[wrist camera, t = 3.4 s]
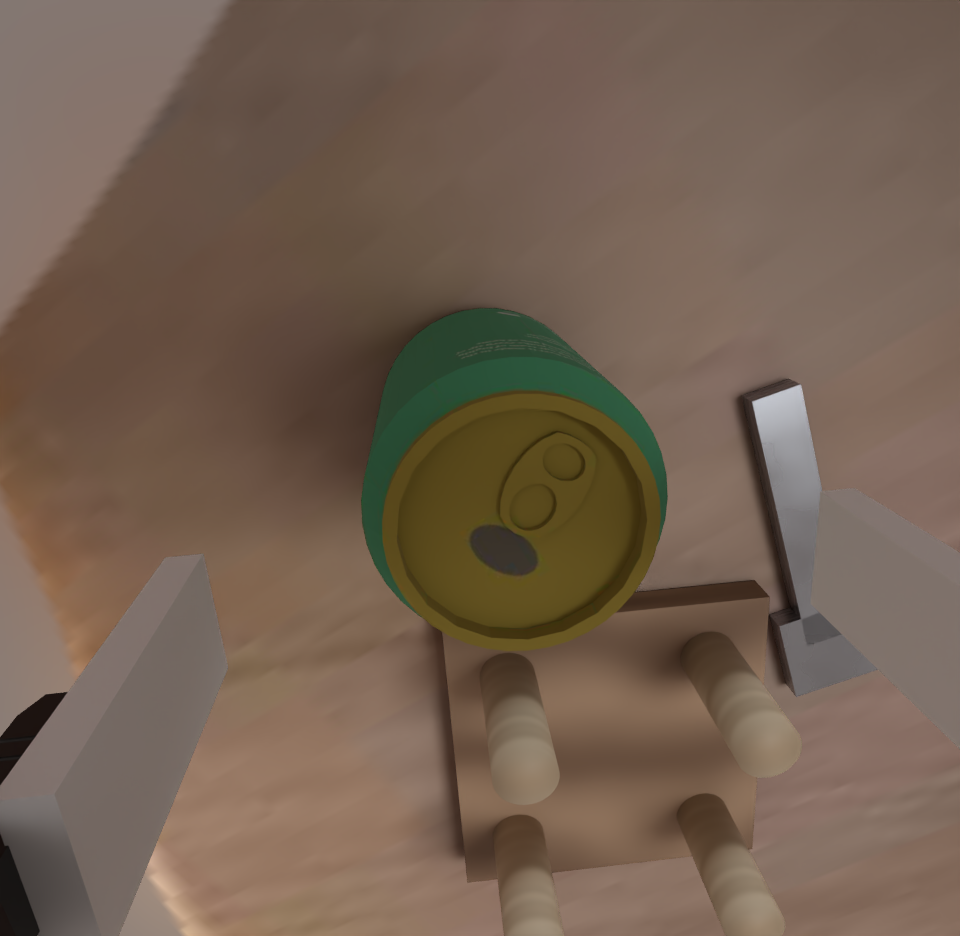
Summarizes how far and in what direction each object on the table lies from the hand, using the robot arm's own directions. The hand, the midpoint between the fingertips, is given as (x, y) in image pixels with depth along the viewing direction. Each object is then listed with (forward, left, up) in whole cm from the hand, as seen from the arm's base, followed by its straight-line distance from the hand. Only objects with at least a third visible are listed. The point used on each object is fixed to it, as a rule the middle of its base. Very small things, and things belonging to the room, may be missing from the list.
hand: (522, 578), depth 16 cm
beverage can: (0, 0, -15) cm, 15 cm away
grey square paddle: (+7, +14, -15) cm, 21 cm away
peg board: (+16, +5, -14) cm, 22 cm away
